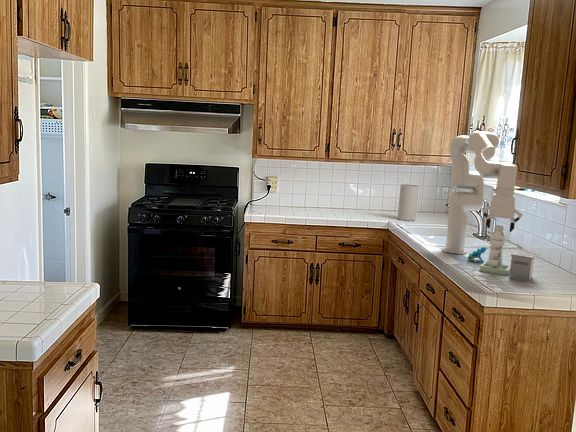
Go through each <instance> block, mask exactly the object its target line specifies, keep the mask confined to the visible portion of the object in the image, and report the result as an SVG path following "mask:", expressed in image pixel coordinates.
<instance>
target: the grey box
mask: <svg viewBox="0 0 576 432" xmlns="http://www.w3.org/2000/svg"><path fill="white" fill-rule="evenodd" d="M536 256H537V254H536V253H531V252H527V251H521V250H514V251H512V253H510V257H511V260H510V265H509V266H510V272H509V274H508V279H510V280H516V281H521V282H528V283H530V281H531V280H532V278H533V273H534V263H535V257H536Z"/></svg>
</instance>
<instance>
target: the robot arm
mask: <svg viewBox="0 0 576 432" xmlns="http://www.w3.org/2000/svg"><path fill="white" fill-rule="evenodd" d="M499 144H500V138H499V136H498V135H497V134H496V133H495V132H491V131H474V132H472V133H470V134H469V135H458V136H454V137H453V138H452V140H451V141H450V145H449V153H450V158H451V163H452V164H451V184H452V187H453V188H454V189H457V190H470V191H454V192H452V193H450V195H449V197H448V220H447V231H446V239H445V246H444V247H442V249H441V250H442V251H443V252H445V253H448V254H449V253H450V254H456V255H465V254H467V253H468V250H467V249H465V245H466V236H467V228H468V217H467V214H466V212H465V211H475V212H476V211H480V210H481V212H482V214H483V217H485V219H486V224H485V226H486V228H487V229H490V228H491V223H492V219H491V218H492V217H496V218H502V219H509V220H510V221H511V222H510V225H509V233H510V232H513V231H514V230H515V225H516V223H517V222H518V221H519V220H521V218H522V217H523V213H522V212H520V211H519V210H517V209H516V196H515V195H514V193H515V188H516V182H517V181H516V180H517V172H518V166H517V165H515V164H509V163H508V162H502V161H501V162H500V161H489V160H491V159H492V158H493V157H494V156H495V154H496V149H497V148H498V146H499ZM466 154H475V158H474V168H475V170H476V171H472V170H470V161H469V159H468V157H467V155H466ZM484 178H485V179H496V187H493V188H492V192H495V193H493V195H492V198H491V201H490V205H488V206H487V207H484V208H483V206H484V191H485V190H484V184H485V183H484ZM488 210H489V211H488ZM487 211H488V213H487ZM515 214H516V215H517V217H516V218H515V217H514V216H515Z"/></svg>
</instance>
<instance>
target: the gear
mask: <svg viewBox="0 0 576 432" xmlns="http://www.w3.org/2000/svg"><path fill="white" fill-rule="evenodd" d="M486 251H487V247H486V246H483V247H481V248H477V249H476V251H475V250H474V251H472V253H469V254H468V256H467V260H472V261H473V262H477V261H476V259H479V261H480V263H484V262H485V261H484V260H483V259H482V257H481V255H482V254H484V253H486Z"/></svg>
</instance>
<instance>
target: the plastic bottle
mask: <svg viewBox="0 0 576 432" xmlns="http://www.w3.org/2000/svg"><path fill="white" fill-rule="evenodd" d="M504 228H505V227H504V225H495V226H494V231H493V232H492V233H491V234H490V238H489V239H490V243H489V244H490V246H489V247H490V249H489V256H488V259H487V261H486V262H487V266H488V267H492V268H498V269H501V268H502V266H503V265H504V263H503V255H504V254H503V251H504V247H505V243H506V235H505V233H504V230H505V229H504Z"/></svg>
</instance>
